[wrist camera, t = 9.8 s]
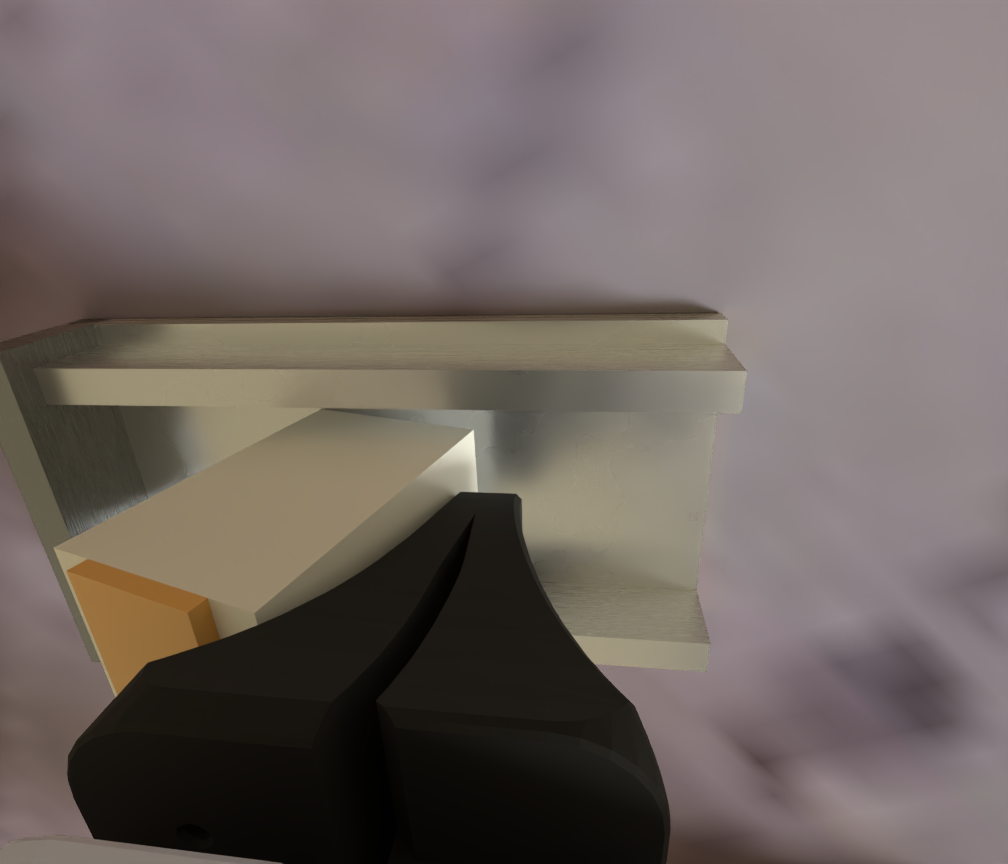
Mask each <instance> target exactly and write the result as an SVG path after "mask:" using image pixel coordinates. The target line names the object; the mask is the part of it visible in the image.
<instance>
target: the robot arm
mask: <svg viewBox="0 0 1008 864" xmlns="http://www.w3.org/2000/svg"><path fill="white" fill-rule="evenodd" d="M67 775H68V782H69V785H70V788H71V791H72V794H73V797H74V800H75V802H76V804H77V806H78V808H79V810H80V812H81V814H82V816H83V818H84V820H85V822H86V824H87V826H88V828H89V830H90V832H91V834H92V836H93V838H94V839H90V838H82V837H74V836H66V835H57V836H43V837H29V838H23V839H19V840H15V841H11V842H8V843H7V844H6V845H5V846H4V847H3V848H2V849H1V850H0V864H666V861H667V853H668V845H669V837H670V811H669V805H668V800H667V796H666V792H665V787H664V784H663V780H662V776H661V773H660V770H659V767H658V764H657V761H656V758H655V755H654V752H653V749H652V747H651V744H650V742H649V739H648V736H647V734H646V732H645V729H644V727H643V724H642V722H641V720H640V717H639V715H638V713H637V710H636V708H635V706H634V705H633V704H632V703H631V702H630V701H629V700H628V699H627V698H626V697H625V696H624V695H623V694H622V693H621V692H620V691H619V690H618V689H617V688H616V687H615V686H614V685H613V684H612V683H611V682H610V681H609V680H608V679H607V678H606V677H605V676H604V675H603V674H602V672H601V671H600V670H599V669H598V668H597V667H596V665H595V664H594V663H593V662H592V661H591V660H590V658H589V657H588V656H587V655H586V654H585V652H584V651H583V650H582V648H581V647H580V646H579V644H578V643H577V641H576V640H575V639H574V637H573V636H572V635H571V633H570V632H569V630H568V629H567V628H566V626H565V625H564V624H563V622H562V620H561V619H560V617H559V615H558V614H557V612H556V610H555V609H554V607H553V606H552V604H551V602H550V600H549V598H548V596H547V594H546V593H545V591H544V589H543V587H542V584H541V582H540V580H539V578H538V576H537V573H536V571H535V568H534V566H533V564H532V561H531V558H530V555H529V553H528V549H527V546H526V543H525V539H524V536H523V531H522V499H521V498H520V497H519V496H518V495H517V494H512V493H484V492H460V493H458V494H457V495H456V496H455V497H454V498H452V499H451V500H450V501H449V502H448V503H447V504H446V505H445V506H443V507H442V508H441V509H440V510H439V511H438V512H437V513H436V514H434V515H433V516H432V517H431V518H430V519H429V520H428V521H427V522H425V523H424V524H423V525H422V526H421V527H420V528H418V529H417V530H416V531H415V532H414V533H413V534H411V535H410V536H409V537H408V538H406V539H405V540H404V541H402V542H401V543H400V544H398V545H397V546H396V547H394V548H393V549H392V550H391V551H389V552H388V553H387V554H385V555H384V556H383V557H381V558H380V559H379V560H377V561H376V562H374V563H373V564H372V565H370V566H369V567H367V568H366V569H364V570H363V571H361V572H360V573H358V574H356V575H355V576H353V577H351V578H350V579H348V580H347V581H345V582H343V583H342V584H340V585H338V586H337V587H335V588H333V589H331V590H330V591H328V592H326V593H324V594H322V595H320V596H318V597H316V598H314V599H312V600H310V601H308V602H306V603H304V604H302V605H300V606H298V607H296V608H294V609H292V610H290V611H288V612H286V613H284V614H282V615H280V616H277V617H275V618H273V619H271V620H268V621H266V622H264V623H261V624H259V625H257V626H254V627H251V628H249V629H246V630H244V631H241V632H239V633H236V634H234V635H231V636H228V637H226V638H223V639H220V640H217V641H215V642H211V643H208V644H205V645H202V646H199V647H196V648H193V649H190V650H187V651H183V652H180V653H177V654H174V655H171V656H168V657H165V658H162V659H158V660H155V661H151V662H148V663H147V664H146V665H145V666H144V667H143V668H142V669H141V670H140V671H139V672H138V673H137V674H136V676H135V677H134V678H133V679H132V680H131V681H130V682H129V683H128V684H127V685H126V687H125V688H124V689H123V690H122V691H121V692H120V693H119V694H118V695H117V696H116V698H115V699H114V700H113V701H112V702H111V703H110V704H109V705H108V706H107V708H106V709H105V710H104V711H103V712H102V713H101V714H100V715H99V716H98V717H97V719H96V720H95V721H94V722H93V723H92V724H91V725H90V726H89V727H88V729H87V730H86V731H85V732H84V733H83V734H82V735H81V736H80V737H79V738H78V740H77V741H76V743H75V744H74V746H73V748H72V750H71V752H70V753H69V755H68V771H67Z"/></svg>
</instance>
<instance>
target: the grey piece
mask: <svg viewBox="0 0 1008 864" xmlns="http://www.w3.org/2000/svg"><path fill="white" fill-rule="evenodd" d="M727 325H728V319H727V318H726V317H725V316H724V315H723V314H722V313H697V314H591V315H485V316H379V317H272V318H166V319H81V320H78V321H74V322H71V323H67V324H64V325H60V326H57V327H53V328H50V329H46V330H42V331H39V332H35V333H32V334H28V335H25V336H21V337H18V338H14V339H11V340H7V341H4V342H0V445H1V447H2V449H3V452H4V454H5V456H6V459H7V461H8V464H9V466H10V468H11V471H12V473H13V475H14V478H15V480H16V483H17V485H18V487H19V490H20V492H21V494H22V497H23V499H24V502H25V504H26V506H27V509H28V511H29V513H30V516H31V518H32V521H33V523H34V525H35V528H36V530H37V532H38V535H39V537H40V540H41V542H42V544H43V547H44V549H45V551H46V554H47V556H48V559H49V561H50V563H51V566H52V568H53V571H54V573H55V575H56V578H57V580H58V582H59V585H60V587H61V590H62V592H63V594H64V597H65V599H66V601H67V604H68V606H69V609H70V611H71V613H72V616H73V618H74V620H75V623H76V625H77V628H78V630H79V632H80V635H81V637H82V639H83V642H84V644H85V647H86V649H87V651H88V654H89V656H90V658H91V661H95V662H101V661H100V659H99V656H98V654H97V652H96V649H95V647H94V644H93V642H92V640H91V637H90V635H89V632H88V630H87V628H86V625H85V623H84V620H83V618H82V616H81V613H80V611H79V608H78V606H77V603H76V601H75V599H74V596H73V594H72V591H71V589H70V587H69V584H68V582H67V579H66V577H65V575H64V572H63V570H62V567H61V565H60V563H59V560H58V558H57V555H56V553H55V550H54V547H56V546H58V545H60V544H62V543H64V542H65V541H67V540H69V539H71V538H73V537H75V536H77V535H79V534H81V533H83V532H85V531H87V530H89V529H91V528H92V527H94V526H96V525H98V524H100V523H102V522H104V521H106V520H108V519H110V518H112V517H114V516H116V515H118V514H120V513H121V512H123V511H125V510H127V509H129V508H131V507H133V506H135V505H137V504H139V503H141V502H143V501H145V500H147V499H149V498H150V497H152V496H154V495H156V494H158V493H160V492H162V491H164V490H166V489H168V488H170V487H172V486H174V485H176V484H177V483H179V482H181V481H183V480H185V479H187V478H189V477H191V476H193V475H195V474H197V473H199V472H201V471H203V470H205V469H206V468H208V467H210V466H212V465H214V464H216V463H218V462H220V461H222V460H224V459H226V458H228V457H230V456H232V455H234V454H235V453H237V452H239V451H241V450H243V449H245V448H247V447H249V446H251V445H253V444H255V443H257V442H259V441H261V440H263V439H264V438H266V437H268V436H270V435H272V434H274V433H276V432H278V431H280V430H282V429H284V428H286V427H288V426H290V425H291V424H293V423H295V422H297V421H299V420H301V419H303V418H305V417H307V416H309V415H311V414H313V413H315V412H317V411H319V410H320V409H325V410H332V411H339V412H347V413H354V414H361V415H369V416H376V417H384V418H391V419H398V420H406V421H413V422H420V423H428V424H435V425H442V426H450V427H457V428H464V429H472V430H474V443H475V457H476V472H477V486H478V492H484V493H512V494H517V495H518V496H519V497H520V498H521V499H522V531H523V536H524V539H525V543H526V546H527V549H528V553H529V555H530V558H531V561H532V564H533V566H534V568H535V571H536V573H537V576H538V578H539V580H540V582H541V584H542V587H543V589H544V591H545V593H546V594H547V596H548V598H549V600H550V602H551V604H552V606H553V607H554V609H555V610H556V612H557V614H558V615H559V617H560V619H561V620H562V622H563V624H564V625H565V626H566V628H567V629H568V630H569V632H570V633H571V635H572V636H573V637H574V639H575V640H576V641H577V643H578V644H579V646H580V647H581V648H582V650H583V651H584V652H585V654H586V655H587V656H588V657H589V658H590V660H591V661H592V662H593V663H594V664H603V665H617V666H631V667H645V668H659V669H673V670H687V671H702V672H707V668H708V660H709V653H710V645H711V644H710V640H709V636H708V632H707V628H706V625H705V621H704V617H703V613H702V609H701V605H700V602H699V598H698V594H697V583H698V575H699V566H700V558H701V549H702V540H703V532H704V523H705V514H706V506H707V497H708V489H709V480H710V471H711V463H712V454H713V445H714V437H715V428H716V420H717V413H740V414H741V413H742V406H743V398H744V391H745V384H746V376H747V370H746V369H745V368H744V367H743V365H742V364H741V363H740V362H739V360H738V359H737V358H736V357H735V356H734V354H733V353H732V352H731V351H730V349H729V348H728V347H727V346H726V344H725V342H726V333H727Z"/></svg>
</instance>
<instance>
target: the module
mask: <svg viewBox="0 0 1008 864" xmlns="http://www.w3.org/2000/svg"><path fill="white" fill-rule="evenodd" d="M460 492H478V486H477V472H476V457H475V443H474V430H472V429H464V428H457V427H450V426H442V425H435V424H428V423H420V422H413V421H406V420H398V419H391V418H384V417H376V416H369V415H361V414H354V413H347V412H339V411H332V410H325V409H320V410H319V411H317V412H315V413H313V414H311V415H309V416H307V417H305V418H303V419H301V420H299V421H297V422H295V423H293V424H291V425H290V426H288V427H286V428H284V429H282V430H280V431H278V432H276V433H274V434H272V435H270V436H268V437H266V438H264V439H263V440H261V441H259V442H257V443H255V444H253V445H251V446H249V447H247V448H245V449H243V450H241V451H239V452H237V453H235V454H234V455H232V456H230V457H228V458H226V459H224V460H222V461H220V462H218V463H216V464H214V465H212V466H210V467H208V468H206V469H205V470H203V471H201V472H199V473H197V474H195V475H193V476H191V477H189V478H187V479H185V480H183V481H181V482H179V483H177V484H176V485H174V486H172V487H170V488H168V489H166V490H164V491H162V492H160V493H158V494H156V495H154V496H152V497H150V498H149V499H147V500H145V501H143V502H141V503H139V504H137V505H135V506H133V507H131V508H129V509H127V510H125V511H123V512H121V513H120V514H118V515H116V516H114V517H112V518H110V519H108V520H106V521H104V522H102V523H100V524H98V525H96V526H94V527H92V528H91V529H89V530H87V531H85V532H83V533H81V534H79V535H77V536H75V537H73V538H71V539H69V540H67V541H65V542H64V543H62V544H60V545H58V546H56V547H54V550H55V553H56V555H57V558H58V560H59V563H60V565H61V567H62V570H63V572H64V575H65V577H66V579H67V582H68V584H69V587H70V589H71V591H72V594H73V596H74V599H75V601H76V603H77V606H78V608H79V611H80V613H81V616H82V618H83V620H84V623H85V625H86V628H87V630H88V632H89V635H90V637H91V640H92V642H93V644H94V647H95V649H96V652H97V654H98V656H99V659H100V661H101V664H102V666H103V669H104V671H105V673H106V676H107V678H108V681H109V683H110V685H111V688H112V690H113V693H114V695H115V697H116V696H117V695H118V694H119V693H120V692H121V691H122V690H123V689H124V688H125V687H126V685H127V684H128V683H129V682H130V681H131V680H132V679H133V678H134V677H135V676H136V674H137V673H138V672H139V671H140V670H141V669H142V668H143V667H144V666H145V665H146V664H147V663H148V662H151V661H155V660H158V659H162V658H165V657H168V656H171V655H174V654H177V653H180V652H183V651H187V650H190V649H193V648H196V647H199V646H202V645H205V644H208V643H211V642H215V641H217V640H220V639H223V638H226V637H228V636H231V635H234V634H236V633H239V632H241V631H244V630H246V629H249V628H251V627H254V626H257V625H259V624H261V623H264V622H266V621H268V620H271V619H273V618H275V617H277V616H280V615H282V614H284V613H286V612H288V611H290V610H292V609H294V608H296V607H298V606H300V605H302V604H304V603H306V602H308V601H310V600H312V599H314V598H316V597H318V596H320V595H322V594H324V593H326V592H328V591H330V590H331V589H333V588H335V587H337V586H338V585H340V584H342V583H343V582H345V581H347V580H348V579H350V578H351V577H353V576H355V575H356V574H358V573H360V572H361V571H363V570H364V569H366V568H367V567H369V566H370V565H372V564H373V563H374V562H376V561H377V560H379V559H380V558H381V557H383V556H384V555H385V554H387V553H388V552H389V551H391V550H392V549H393V548H394V547H396V546H397V545H398V544H400V543H401V542H402V541H404V540H405V539H406V538H408V537H409V536H410V535H411V534H413V533H414V532H415V531H416V530H417V529H418V528H420V527H421V526H422V525H423V524H424V523H425V522H427V521H428V520H429V519H430V518H431V517H432V516H433V515H434V514H436V513H437V512H438V511H439V510H440V509H441V508H442V507H443V506H445V505H446V504H447V503H448V502H449V501H450V500H451V499H452V498H454V497H455V496H456V495H457V494H458V493H460Z"/></svg>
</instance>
